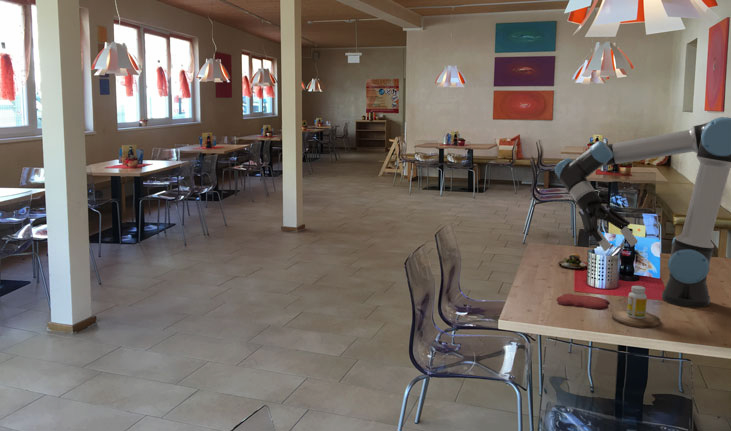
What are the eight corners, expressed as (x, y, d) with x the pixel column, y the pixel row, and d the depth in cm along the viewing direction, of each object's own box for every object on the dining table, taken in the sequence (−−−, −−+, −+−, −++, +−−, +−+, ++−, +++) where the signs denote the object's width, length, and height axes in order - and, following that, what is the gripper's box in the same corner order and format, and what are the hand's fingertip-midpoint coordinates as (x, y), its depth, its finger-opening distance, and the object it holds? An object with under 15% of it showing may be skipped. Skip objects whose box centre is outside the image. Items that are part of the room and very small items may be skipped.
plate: (639, 312, 206) (639, 308, 206) (669, 325, 192) (670, 321, 192) (602, 315, 202) (603, 311, 202) (631, 329, 189) (632, 324, 189)
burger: (552, 265, 272) (553, 248, 271) (573, 263, 277) (574, 247, 276) (572, 271, 261) (573, 254, 260) (593, 269, 266) (594, 252, 265)
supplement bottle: (624, 316, 197) (626, 287, 195) (630, 312, 201) (632, 284, 199) (641, 320, 193) (644, 290, 192) (647, 316, 197) (650, 287, 196)
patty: (554, 306, 213) (554, 300, 213) (558, 295, 226) (558, 290, 225) (608, 312, 206) (609, 307, 206) (609, 301, 219) (610, 296, 219)
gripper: (603, 201, 223) (638, 248, 213) (554, 206, 211) (589, 257, 200) (616, 187, 218) (652, 235, 208) (567, 192, 206) (603, 243, 195)
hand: (621, 246), depth 204 cm, fingers open, 13 cm apart
